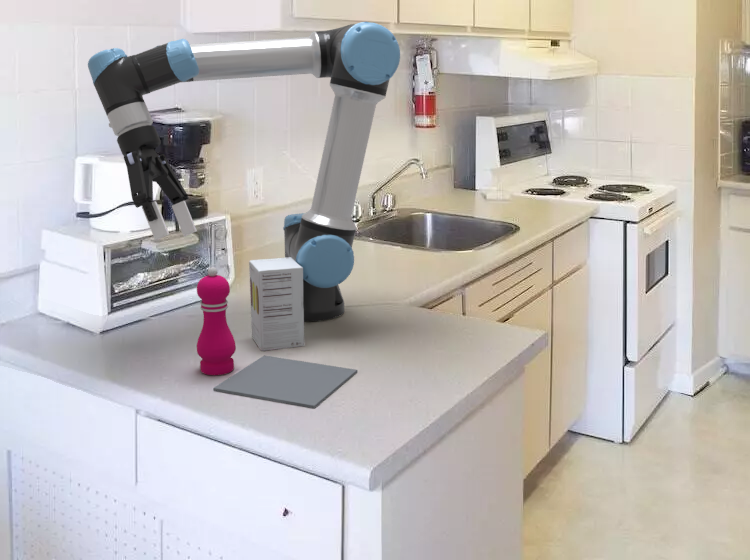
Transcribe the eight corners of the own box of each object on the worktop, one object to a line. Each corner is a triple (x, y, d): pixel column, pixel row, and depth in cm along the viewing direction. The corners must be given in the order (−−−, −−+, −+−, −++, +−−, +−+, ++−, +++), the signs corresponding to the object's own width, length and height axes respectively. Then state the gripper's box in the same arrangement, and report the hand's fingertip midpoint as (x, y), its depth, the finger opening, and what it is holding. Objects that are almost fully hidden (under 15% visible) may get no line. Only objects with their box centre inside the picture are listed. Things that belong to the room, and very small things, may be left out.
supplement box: (250, 337, 178) (247, 259, 174) (293, 332, 181) (291, 255, 177) (261, 351, 170) (258, 270, 165) (305, 346, 173) (303, 266, 168)
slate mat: (213, 390, 150) (213, 387, 150) (264, 357, 166) (264, 355, 166) (314, 408, 143) (314, 405, 143) (357, 372, 159) (357, 369, 159)
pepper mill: (242, 364, 163) (238, 264, 157) (226, 378, 156) (221, 273, 151) (208, 361, 164) (203, 261, 159) (191, 374, 158) (184, 270, 152)
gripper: (145, 142, 173) (184, 239, 174) (85, 134, 149) (130, 246, 149) (177, 128, 172) (217, 225, 173) (121, 117, 147) (167, 231, 148)
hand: (177, 235), depth 161 cm, fingers open, 13 cm apart
